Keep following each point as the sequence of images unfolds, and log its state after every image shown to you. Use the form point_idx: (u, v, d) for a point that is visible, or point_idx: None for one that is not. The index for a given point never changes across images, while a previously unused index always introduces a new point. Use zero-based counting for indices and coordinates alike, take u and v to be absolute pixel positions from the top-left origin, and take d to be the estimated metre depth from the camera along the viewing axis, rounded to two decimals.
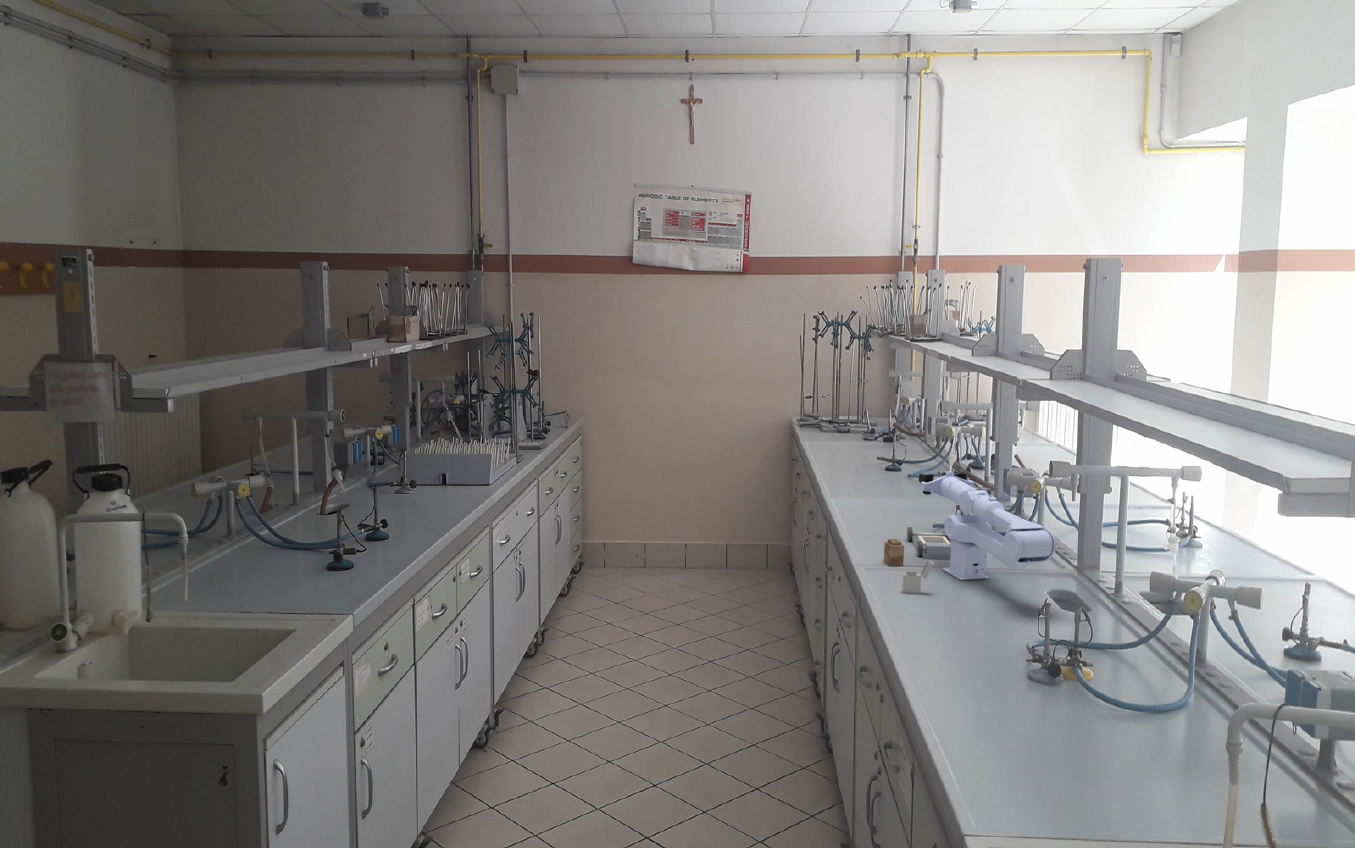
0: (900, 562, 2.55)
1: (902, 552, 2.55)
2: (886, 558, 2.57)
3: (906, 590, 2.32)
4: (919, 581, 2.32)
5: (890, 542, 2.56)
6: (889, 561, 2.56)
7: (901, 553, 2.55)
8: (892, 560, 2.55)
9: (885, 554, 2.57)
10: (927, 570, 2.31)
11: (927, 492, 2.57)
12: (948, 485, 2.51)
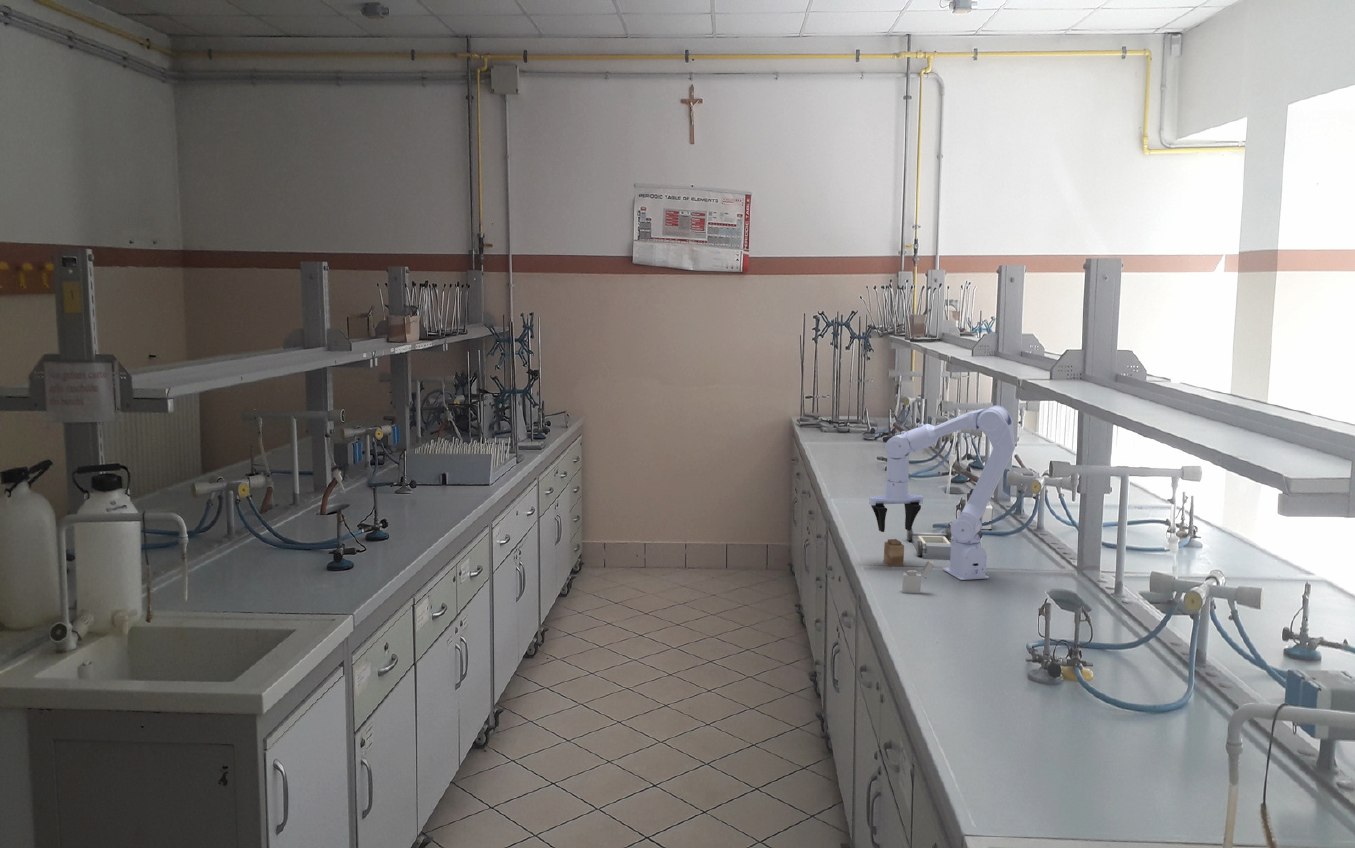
0: (900, 562, 2.55)
1: (902, 552, 2.55)
2: (886, 558, 2.57)
3: (906, 590, 2.32)
4: (919, 581, 2.32)
5: (890, 542, 2.56)
6: (889, 561, 2.56)
7: (901, 553, 2.55)
8: (892, 560, 2.55)
9: (885, 554, 2.57)
10: (927, 570, 2.31)
11: (882, 507, 2.52)
12: (886, 481, 2.55)
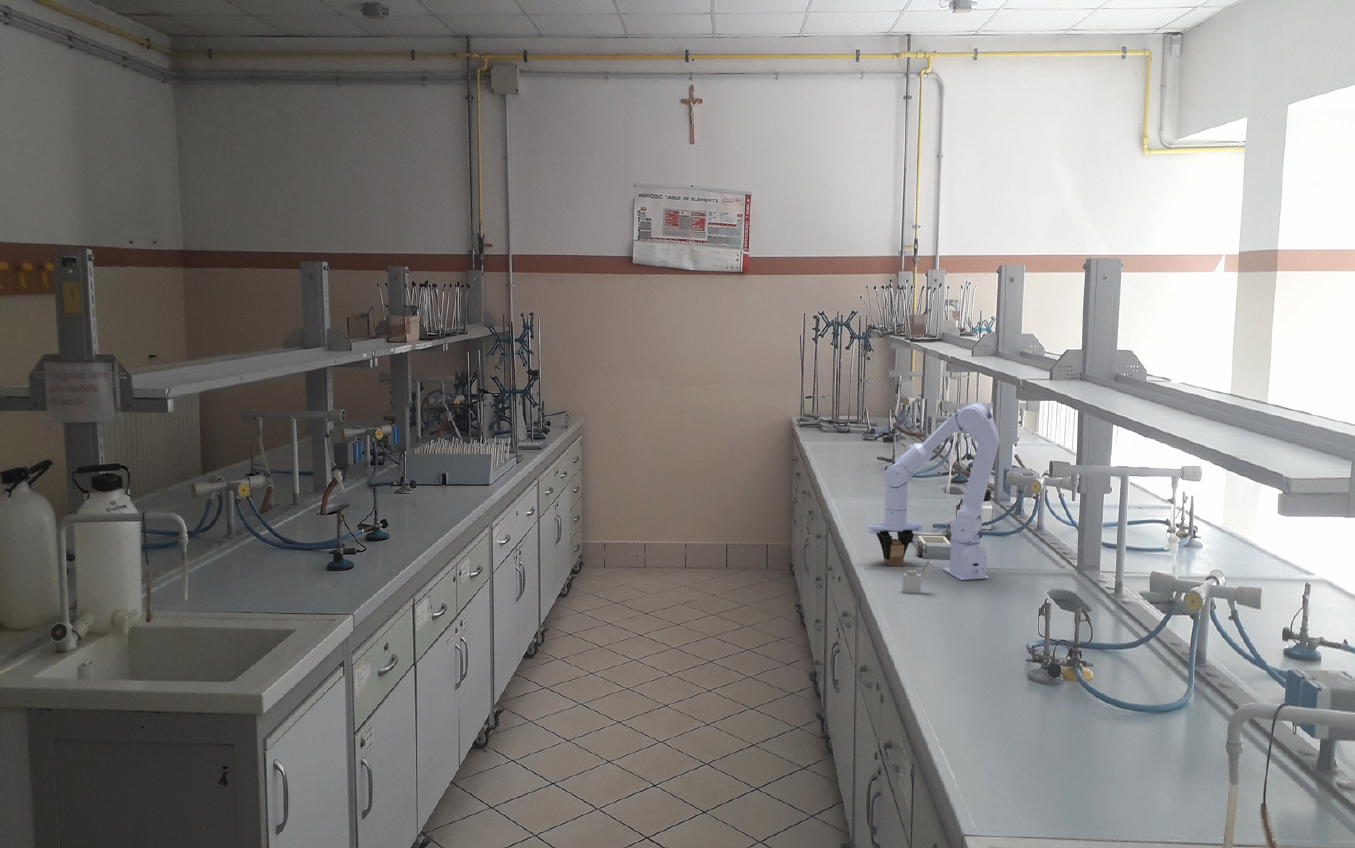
0: (900, 562, 2.55)
1: (902, 552, 2.55)
2: None
3: (906, 590, 2.32)
4: (919, 581, 2.32)
5: None
6: (889, 561, 2.56)
7: (901, 553, 2.55)
8: (892, 560, 2.55)
9: None
10: (927, 570, 2.31)
11: (887, 535, 2.53)
12: None
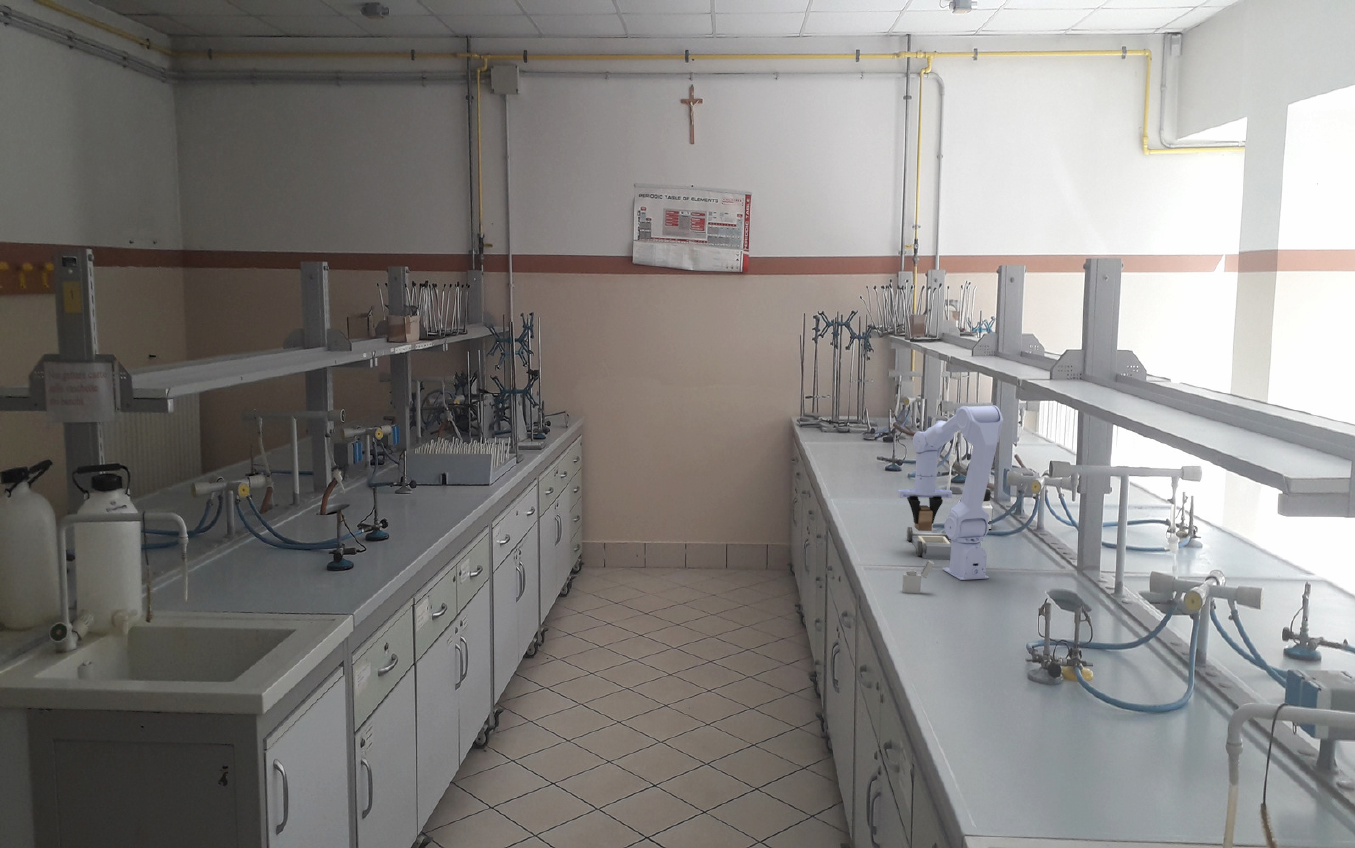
0: (929, 527, 2.65)
1: (930, 518, 2.65)
2: None
3: (906, 590, 2.32)
4: (919, 581, 2.32)
5: (919, 508, 2.66)
6: (917, 526, 2.66)
7: (929, 519, 2.65)
8: (920, 525, 2.65)
9: None
10: (927, 570, 2.31)
11: (915, 500, 2.64)
12: None
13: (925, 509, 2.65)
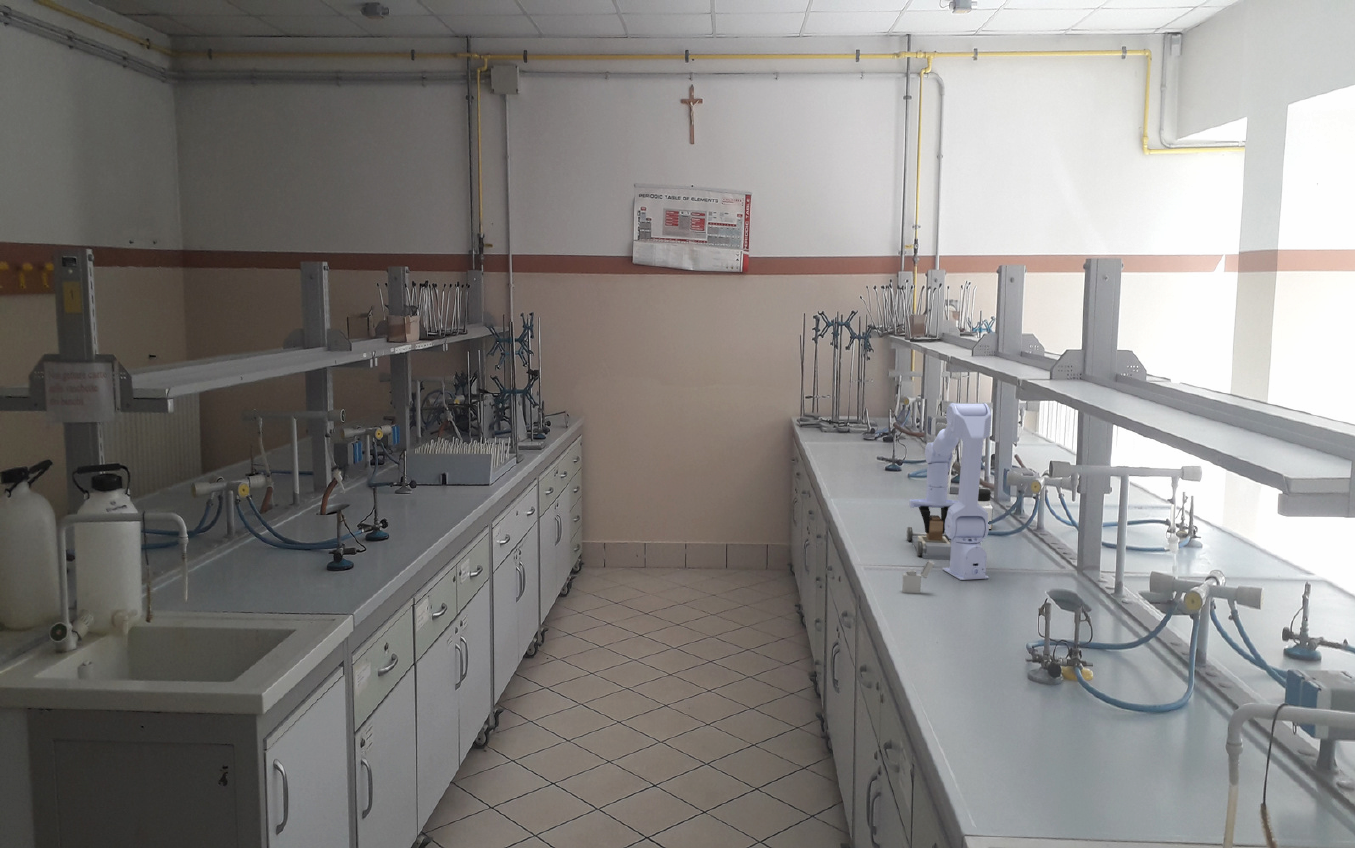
0: (939, 537, 2.70)
1: (941, 528, 2.70)
2: (927, 533, 2.73)
3: (906, 590, 2.32)
4: (919, 581, 2.32)
5: (931, 518, 2.72)
6: (928, 536, 2.71)
7: (940, 528, 2.70)
8: (931, 535, 2.70)
9: None
10: (927, 570, 2.31)
11: (925, 510, 2.69)
12: None
13: (936, 519, 2.70)
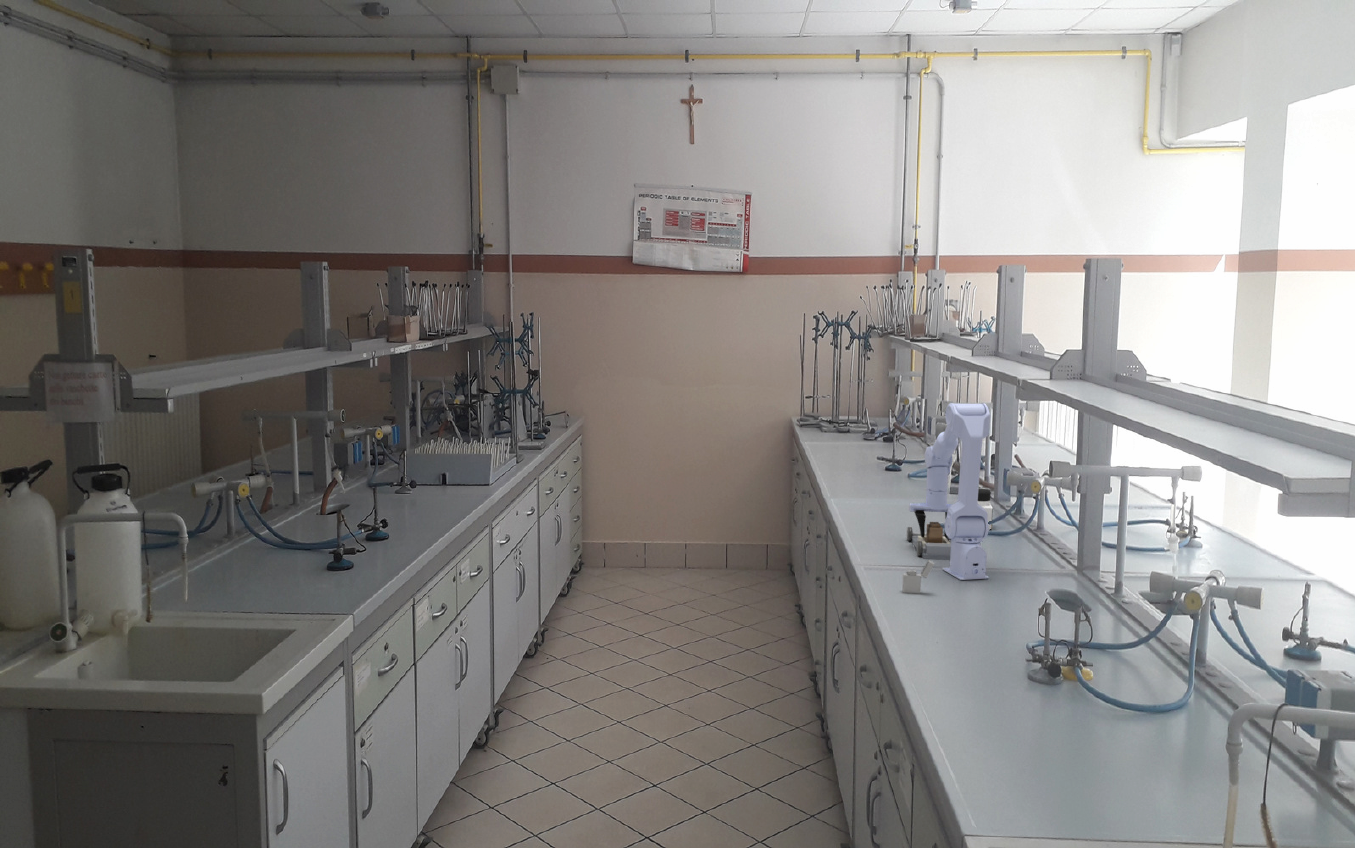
0: None
1: (941, 534, 2.70)
2: (927, 539, 2.73)
3: (906, 590, 2.32)
4: (919, 581, 2.32)
5: (930, 524, 2.72)
6: (928, 542, 2.72)
7: (940, 535, 2.70)
8: (931, 541, 2.70)
9: (927, 536, 2.74)
10: (927, 570, 2.31)
11: (921, 514, 2.69)
12: None
13: (935, 526, 2.70)
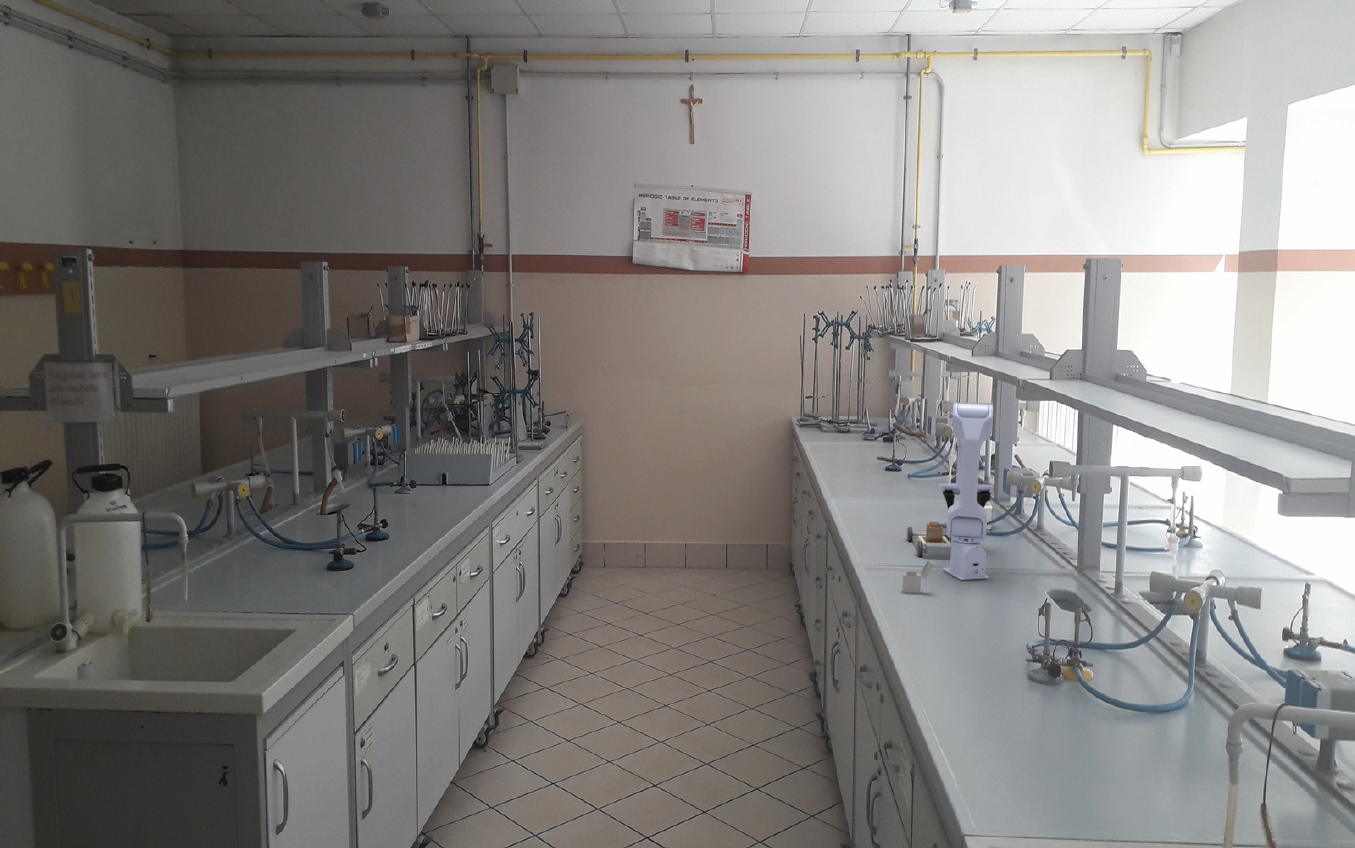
0: None
1: (941, 534, 2.70)
2: (927, 539, 2.73)
3: (906, 590, 2.32)
4: (919, 581, 2.32)
5: (930, 524, 2.72)
6: (928, 542, 2.72)
7: (940, 535, 2.70)
8: (931, 541, 2.70)
9: (927, 536, 2.74)
10: (927, 570, 2.31)
11: (950, 494, 2.68)
12: None
13: (935, 526, 2.70)
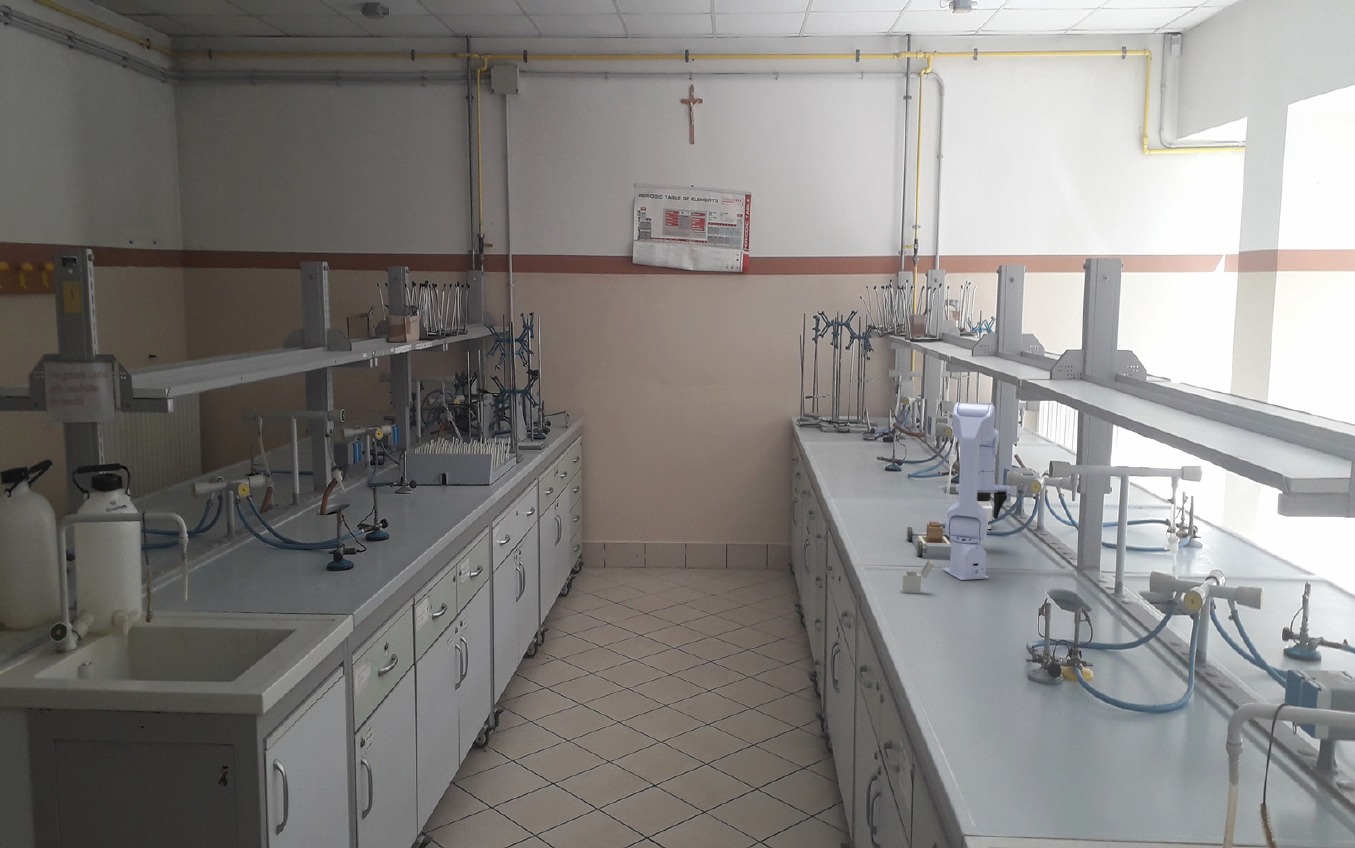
0: None
1: (941, 534, 2.70)
2: (927, 539, 2.73)
3: (906, 590, 2.32)
4: (919, 581, 2.32)
5: (930, 524, 2.72)
6: (928, 542, 2.72)
7: (940, 535, 2.70)
8: (931, 541, 2.70)
9: (927, 536, 2.74)
10: (927, 570, 2.31)
11: None
12: None
13: (935, 526, 2.70)
